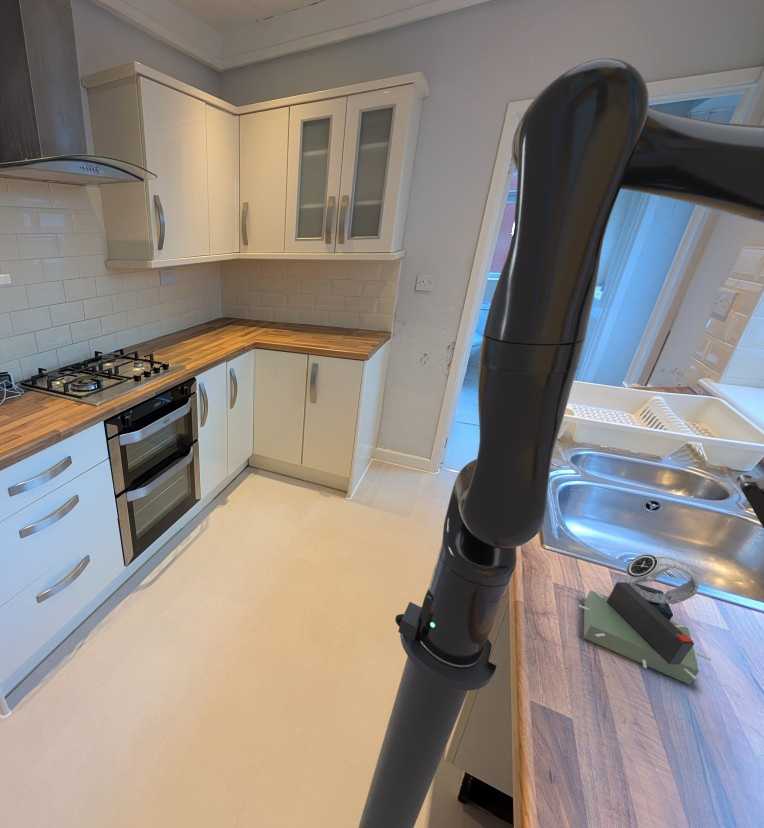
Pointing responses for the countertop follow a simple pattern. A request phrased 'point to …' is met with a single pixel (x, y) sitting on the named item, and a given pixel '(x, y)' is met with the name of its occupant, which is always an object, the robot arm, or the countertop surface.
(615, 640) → the dial panel
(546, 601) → the countertop surface
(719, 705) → the countertop surface
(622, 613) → the pointer
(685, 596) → the watch
